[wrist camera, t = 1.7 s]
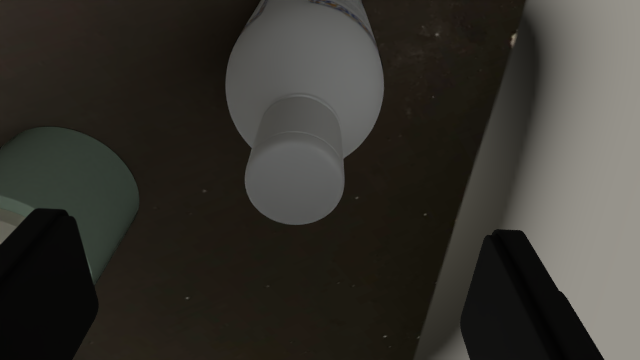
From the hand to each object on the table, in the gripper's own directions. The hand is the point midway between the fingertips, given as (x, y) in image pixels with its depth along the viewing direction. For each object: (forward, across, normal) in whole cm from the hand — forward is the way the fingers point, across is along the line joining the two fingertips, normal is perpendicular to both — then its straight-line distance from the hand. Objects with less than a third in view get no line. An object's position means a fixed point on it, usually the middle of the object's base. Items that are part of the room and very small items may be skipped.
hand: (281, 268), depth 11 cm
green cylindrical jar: (+23, +19, +14) cm, 33 cm away
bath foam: (+23, 0, 0) cm, 23 cm away
